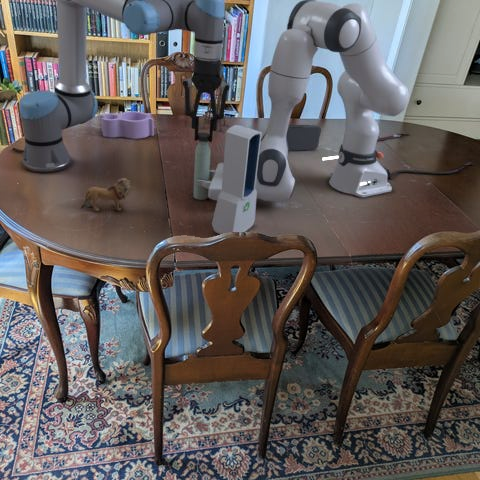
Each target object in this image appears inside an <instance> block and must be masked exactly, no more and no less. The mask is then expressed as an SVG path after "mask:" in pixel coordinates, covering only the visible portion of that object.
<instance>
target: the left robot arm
mask: <svg viewBox="0 0 480 480" xmlns="http://www.w3.org/2000/svg"><path fill="white" fill-rule="evenodd" d="M55 1H56V26H57V56H58V57H57V59H58V60H57V61H58V62H57V63H58V79H57V80H56V81H55V82H54V83H53V88H54V89H53V90H54V91H51V90H34V91H31V92H28V93H25V94H24V95H22V97H21V98H20V99H19V103H18V105H19V116H20V119H21V125H22V132H23V137H24V148H23V149H18V148H16V147H12V151H15V152H16V153H22V158H21V161H22V166H23V168H24V169H25V170H27V171H29V172H33V173H39V174H46V173H56V172H61V171H63V170H66V169H67V168H69V167H70V166H71V163H72V159H71V155H70V153H69V151H68V150H67V149H68V148H67V147H66V145H65V143H64V140H63V132H62V131H63V130H66V129H68V128H72V127H75V126H77V125H84V124H85V123H87V122H89V121H91V120H92V119H94V117H96V115H97V112H98V105H99V104H98V99H97V97H96V94H95V92H94V91H93V90H92V88H91V85H90V84H88V82H87V9H89V10H92V11H94V12H96V13H98V14H101V15H104V16H106V17H108V18H110V19H112V20H115V21H117V22H119V23H122V24H124V25H125V27H126V28H127V29H128V30H129V32H130V33H132V34H133V35H137V36H149V35H151V34H158V33H162V32H163V33H164V32H169V31H177V30H181V31H187V32H192V33H194V45H193V56H194V59H193V72H192V76H191V77H190V78H184V79H183V81H182V86H183V89H184V107H185V108H184V109H185V112H184V113H185V116H186V117H190V119H191V125H190V127H191V129H193V130H194V142H197V141H198V140H197V136H198V133H199V131H200V130H199V126H200V116H197V115H198V112H199V106H200V102H201V100H202V99H201V97H202V94H207V95H209V101H210V100H211V103H210V105H211V106H210V107H211V108H212V109H211V115H212V116H211V117H210V119H209V120H210V121H209V134H210V135H209V141H208V143H213V137H214V132H216V131H217V129H218V122H217V121H220V120H219V119H221V120H223V117H225V110H226V109H225V108H226V101H227V95H228V92H229V90H230V87H231V84H230V83H228V82H225V81H222V79H223V78H222V75H221V76H220V74H221V66H222V64H221V63H222V62H221V61H222V58H223V40H224V39H223V36H224V27H225V26H224V25H225V17H226V14H225V11H226V10H225V5H226V4H225V3H226V1H225V0H55ZM221 57H222V58H221ZM192 85H194V87H195V89H196V90H197V91H196V95H195V100H194V104H193V108H192V104H191V87H192ZM220 85H221V92H222V99H220V105H221V106H220V114H219V113H218V110H217V109H218V107H217V105H216V104H217V99H216V98H217V97H216V95H215V94H216V91H217V90H218V87H219V86H220ZM215 97H216V98H215Z"/></svg>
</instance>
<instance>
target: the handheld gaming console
mask: <svg viewBox="0 0 480 480" xmlns="http://www.w3.org/2000/svg"><path fill="white" fill-rule="evenodd" d="M321 133H322V127H321V126H319V125H318V124H292V125H291V124H289V126H288V130H287V141H288V146H289V152H292V151H294V152H295V151H312V150H317V148H318V147H319V144H320V137H321Z"/></svg>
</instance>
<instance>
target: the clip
mask: <svg viewBox="0 0 480 480" xmlns="http://www.w3.org/2000/svg"><path fill="white" fill-rule="evenodd" d="M100 122H101V133H102V136H103V137H104V138H105V137H106V138H118V137H119V138H120V137H121V138H126V139H133V140H134V139H136V140H137V139H144V138H147V137H154V136H155V119H154V118H153V117H152V113H151V112H147V113H146V112H142V111H134V110H133V111H132V110H131V111H123V112H119V113H114V112H113V113H112V112H111V113H109V112H107V113H103V114H101V115H100Z"/></svg>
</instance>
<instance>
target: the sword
mask: <svg viewBox="0 0 480 480" xmlns="http://www.w3.org/2000/svg"><path fill="white" fill-rule="evenodd" d="M401 134H402V133H396V134H392V135H389V136H383V137H378V139H377V142H381V141H384V140H389V139H393V138H400V137H402V136H406V135H409V134H404V135H401Z"/></svg>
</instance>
